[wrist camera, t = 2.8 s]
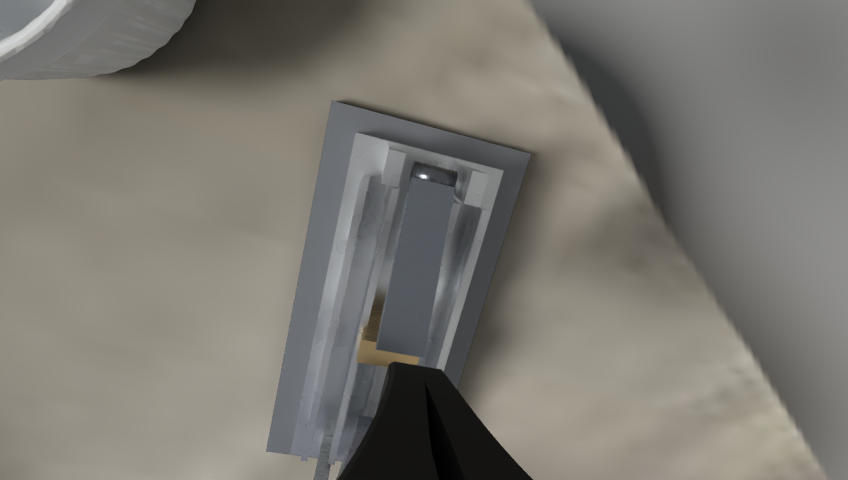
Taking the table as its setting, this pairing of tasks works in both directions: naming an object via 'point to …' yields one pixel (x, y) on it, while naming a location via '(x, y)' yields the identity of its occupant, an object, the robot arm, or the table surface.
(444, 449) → the robot arm
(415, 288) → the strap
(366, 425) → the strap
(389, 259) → the grey slide rail
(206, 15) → the table surface
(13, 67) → the ramekin
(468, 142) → the slate board
